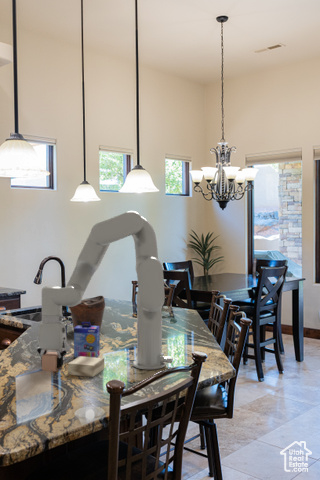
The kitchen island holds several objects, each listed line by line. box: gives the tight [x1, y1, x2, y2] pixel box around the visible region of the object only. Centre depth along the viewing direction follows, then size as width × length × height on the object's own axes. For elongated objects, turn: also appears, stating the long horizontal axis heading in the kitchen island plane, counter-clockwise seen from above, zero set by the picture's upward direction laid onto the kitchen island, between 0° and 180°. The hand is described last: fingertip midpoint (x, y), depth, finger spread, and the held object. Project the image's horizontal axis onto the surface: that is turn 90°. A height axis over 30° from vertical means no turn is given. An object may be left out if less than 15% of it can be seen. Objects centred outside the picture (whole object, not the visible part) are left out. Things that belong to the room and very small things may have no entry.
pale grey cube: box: [47, 348, 66, 361], centre depth 192 cm, size 6×6×6 cm
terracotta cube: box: [41, 352, 63, 372], centre depth 181 cm, size 6×6×6 cm
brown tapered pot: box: [67, 295, 106, 332], centre depth 246 cm, size 18×20×18 cm
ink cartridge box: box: [73, 322, 101, 358], centre depth 199 cm, size 10×6×14 cm, turn 85°
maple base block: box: [67, 356, 105, 377], centre depth 177 cm, size 10×10×4 cm
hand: (52, 366), depth 181 cm, fingers closed on terracotta cube, 5 cm apart
